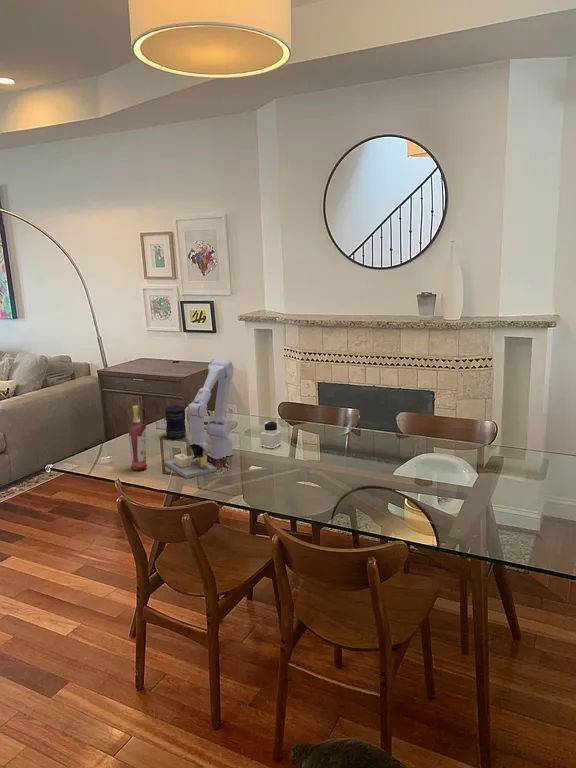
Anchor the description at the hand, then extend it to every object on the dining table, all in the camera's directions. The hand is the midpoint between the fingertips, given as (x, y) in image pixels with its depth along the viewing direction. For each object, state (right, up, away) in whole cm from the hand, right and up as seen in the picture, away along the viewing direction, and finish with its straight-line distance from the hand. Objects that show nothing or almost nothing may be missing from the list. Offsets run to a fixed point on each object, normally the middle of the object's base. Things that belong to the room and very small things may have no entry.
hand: (198, 460), depth 255 cm
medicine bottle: (+30, +3, +30) cm, 42 cm away
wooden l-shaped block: (+1, -3, -3) cm, 4 cm away
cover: (-7, -2, 0) cm, 7 cm away
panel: (-4, -3, +1) cm, 5 cm away
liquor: (-25, -4, 0) cm, 26 cm away
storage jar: (-18, +6, +43) cm, 47 cm away
